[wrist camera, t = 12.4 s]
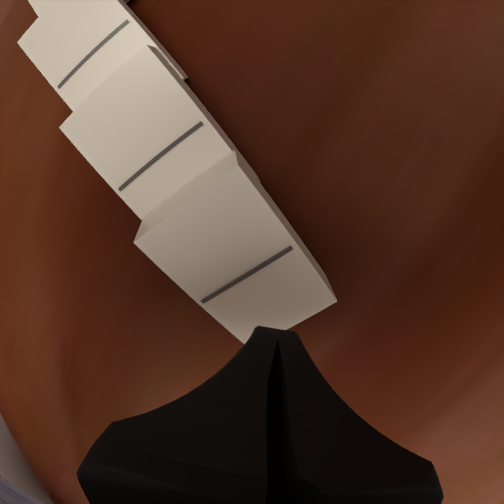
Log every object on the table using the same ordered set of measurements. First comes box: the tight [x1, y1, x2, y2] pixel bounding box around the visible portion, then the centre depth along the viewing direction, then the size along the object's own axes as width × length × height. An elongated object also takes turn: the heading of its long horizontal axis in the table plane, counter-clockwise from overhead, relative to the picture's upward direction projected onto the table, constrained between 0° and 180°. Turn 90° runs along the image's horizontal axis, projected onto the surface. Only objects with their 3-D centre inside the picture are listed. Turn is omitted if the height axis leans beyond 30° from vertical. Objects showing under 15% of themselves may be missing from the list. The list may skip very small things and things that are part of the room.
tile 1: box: [17, 0, 188, 112], centre depth 11 cm, size 2×4×7 cm
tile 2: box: [59, 45, 260, 220], centre depth 12 cm, size 2×4×7 cm
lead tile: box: [133, 150, 337, 344], centre depth 12 cm, size 2×4×7 cm
